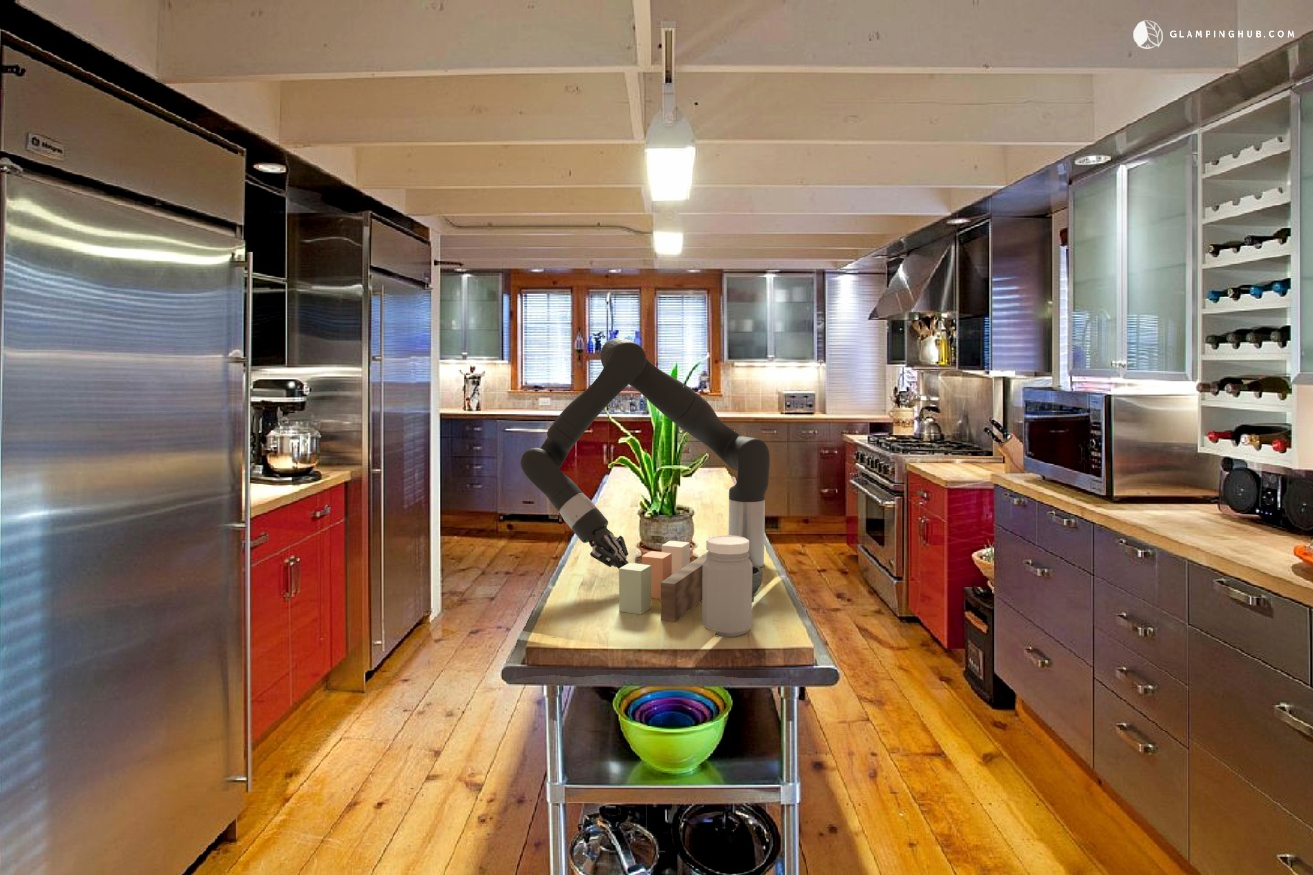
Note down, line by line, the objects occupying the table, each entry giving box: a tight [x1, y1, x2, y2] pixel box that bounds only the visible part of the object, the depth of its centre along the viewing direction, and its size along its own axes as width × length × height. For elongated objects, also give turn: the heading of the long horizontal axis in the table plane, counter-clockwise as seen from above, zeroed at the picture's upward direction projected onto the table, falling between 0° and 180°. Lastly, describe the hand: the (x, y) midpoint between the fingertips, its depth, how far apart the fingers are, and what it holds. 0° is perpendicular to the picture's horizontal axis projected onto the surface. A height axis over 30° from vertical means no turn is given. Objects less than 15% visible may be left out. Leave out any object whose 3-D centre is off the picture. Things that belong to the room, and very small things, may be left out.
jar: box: [701, 534, 753, 638], centre depth 151 cm, size 10×10×18 cm
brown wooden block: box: [660, 551, 708, 623], centre depth 169 cm, size 30×18×9 cm, turn 156°
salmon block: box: [641, 550, 672, 600], centre depth 169 cm, size 5×5×9 cm
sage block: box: [618, 562, 652, 615], centre depth 159 cm, size 5×5×9 cm
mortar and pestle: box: [748, 556, 763, 603], centre depth 169 cm, size 11×9×12 cm
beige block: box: [661, 540, 691, 575], centre depth 179 cm, size 5×5×9 cm
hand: (632, 575), depth 172 cm, fingers closed
